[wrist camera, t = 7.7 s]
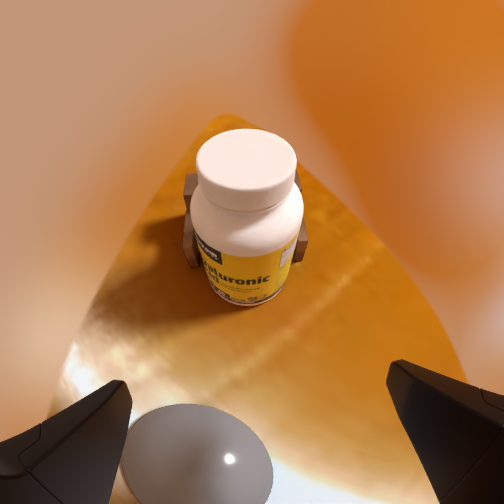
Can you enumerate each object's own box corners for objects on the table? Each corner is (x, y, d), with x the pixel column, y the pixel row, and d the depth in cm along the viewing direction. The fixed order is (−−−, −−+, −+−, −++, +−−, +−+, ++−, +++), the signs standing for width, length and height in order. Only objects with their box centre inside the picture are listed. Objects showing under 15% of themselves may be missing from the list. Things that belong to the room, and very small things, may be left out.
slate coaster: (211, 548, 8) (210, 550, 8) (100, 462, 11) (97, 463, 11) (303, 460, 12) (305, 461, 12) (181, 374, 15) (180, 373, 14)
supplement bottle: (192, 287, 18) (149, 176, 10) (231, 228, 20) (222, 110, 12) (266, 322, 17) (284, 226, 8) (299, 255, 19) (329, 139, 11)
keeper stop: (302, 260, 19) (312, 226, 16) (189, 267, 19) (177, 233, 15) (291, 206, 22) (297, 169, 18) (193, 211, 21) (184, 174, 18)
